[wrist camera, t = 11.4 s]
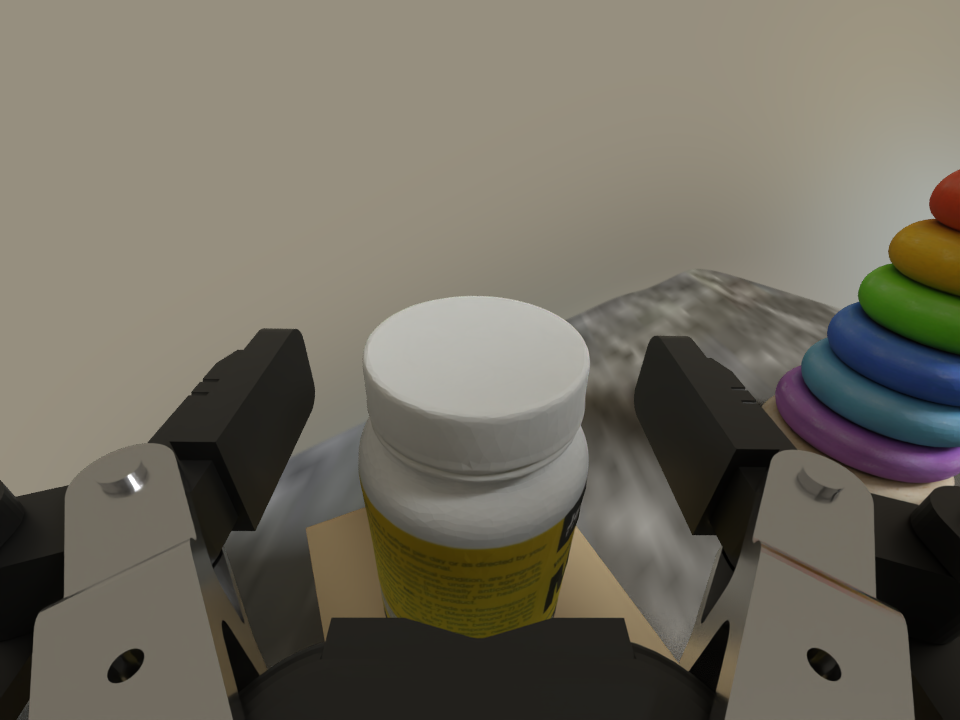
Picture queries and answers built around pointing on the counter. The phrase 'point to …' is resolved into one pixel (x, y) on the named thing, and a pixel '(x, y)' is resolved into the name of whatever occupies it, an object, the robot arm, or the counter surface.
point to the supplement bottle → (473, 460)
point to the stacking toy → (889, 367)
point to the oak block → (356, 594)
